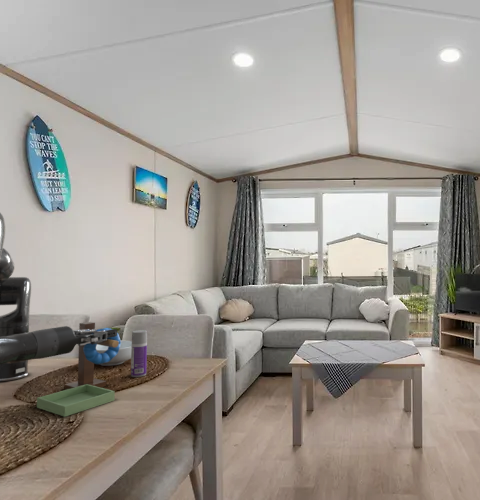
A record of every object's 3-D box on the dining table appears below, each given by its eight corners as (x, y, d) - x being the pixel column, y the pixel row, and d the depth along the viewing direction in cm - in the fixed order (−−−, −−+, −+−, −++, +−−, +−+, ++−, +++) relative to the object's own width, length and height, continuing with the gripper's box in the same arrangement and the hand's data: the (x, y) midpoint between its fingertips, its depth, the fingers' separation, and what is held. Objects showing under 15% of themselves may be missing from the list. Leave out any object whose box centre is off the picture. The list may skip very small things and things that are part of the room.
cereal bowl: (107, 371, 138) (108, 351, 138) (74, 366, 144) (75, 347, 144) (147, 359, 154) (148, 341, 154) (116, 355, 160) (117, 338, 160)
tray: (36, 407, 105) (36, 397, 105) (86, 392, 117) (87, 384, 117) (64, 416, 100) (64, 406, 100) (114, 400, 111) (114, 391, 111)
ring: (80, 366, 114) (81, 331, 114) (116, 358, 124) (117, 325, 124) (86, 368, 113) (87, 332, 113) (122, 359, 122) (123, 326, 123)
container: (149, 373, 137) (150, 330, 137) (140, 377, 132) (141, 332, 132) (136, 372, 137) (137, 329, 138) (127, 376, 133) (128, 332, 133)
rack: (64, 389, 120) (65, 323, 120) (91, 382, 127) (92, 320, 127) (100, 399, 112) (102, 329, 112) (127, 391, 119) (128, 325, 119)
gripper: (65, 331, 102) (127, 321, 118) (35, 326, 109) (98, 317, 124) (64, 359, 102) (127, 346, 118) (35, 353, 109) (98, 341, 124)
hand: (112, 331), depth 121 cm, fingers closed on ring, 3 cm apart
